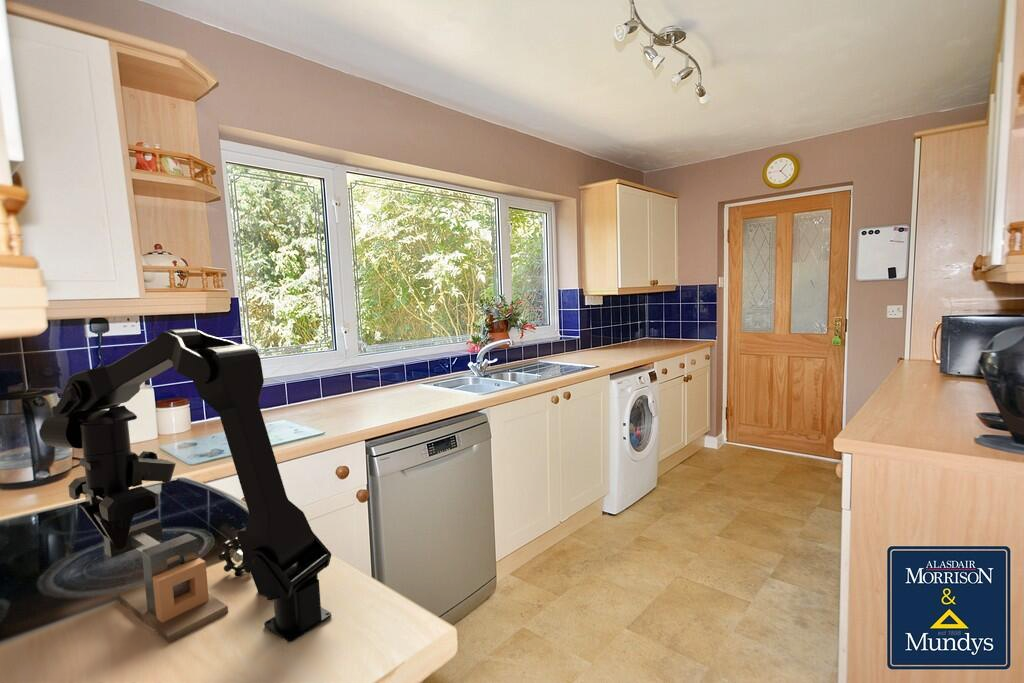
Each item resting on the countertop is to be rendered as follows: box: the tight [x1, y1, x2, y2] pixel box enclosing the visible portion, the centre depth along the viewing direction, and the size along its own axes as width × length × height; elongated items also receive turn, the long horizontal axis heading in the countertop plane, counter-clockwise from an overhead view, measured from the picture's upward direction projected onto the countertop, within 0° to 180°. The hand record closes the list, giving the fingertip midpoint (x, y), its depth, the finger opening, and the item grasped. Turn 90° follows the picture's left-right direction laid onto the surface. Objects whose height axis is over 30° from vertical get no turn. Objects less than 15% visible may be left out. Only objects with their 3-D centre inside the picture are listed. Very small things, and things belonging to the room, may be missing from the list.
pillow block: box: [141, 533, 200, 617], centre depth 72 cm, size 3×6×9 cm, turn 145°
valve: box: [218, 536, 251, 577], centre depth 87 cm, size 7×7×12 cm
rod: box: [103, 518, 180, 569], centre depth 76 cm, size 16×7×3 cm, turn 56°
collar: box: [153, 557, 209, 623], centre depth 71 cm, size 2×6×6 cm, turn 146°
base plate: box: [117, 582, 229, 644], centre depth 73 cm, size 18×8×1 cm, turn 56°
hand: (117, 545), depth 78 cm, fingers open, 3 cm apart
